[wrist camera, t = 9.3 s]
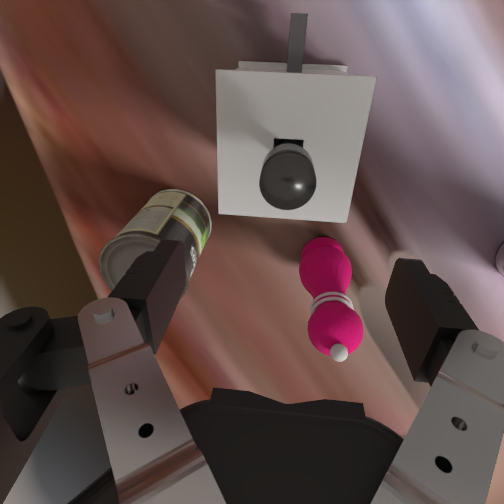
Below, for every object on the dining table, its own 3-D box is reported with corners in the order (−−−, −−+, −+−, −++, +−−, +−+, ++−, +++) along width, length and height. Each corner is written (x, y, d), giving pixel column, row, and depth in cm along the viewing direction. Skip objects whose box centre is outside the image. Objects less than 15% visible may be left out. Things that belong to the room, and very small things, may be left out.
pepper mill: (295, 236, 49) (300, 335, 32) (345, 230, 47) (378, 330, 30) (300, 275, 52) (307, 384, 35) (347, 271, 51) (377, 381, 34)
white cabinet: (351, 27, 35) (393, 12, 21) (328, 170, 43) (348, 225, 29) (240, 23, 36) (211, 6, 22) (238, 164, 44) (216, 215, 30)
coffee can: (222, 205, 47) (199, 257, 35) (199, 259, 52) (173, 320, 40) (153, 175, 46) (106, 220, 34) (137, 234, 51) (91, 290, 39)
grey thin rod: (330, 81, 37) (374, 112, 18) (319, 160, 41) (345, 248, 23) (252, 78, 37) (217, 104, 19) (249, 156, 42) (219, 239, 23)
